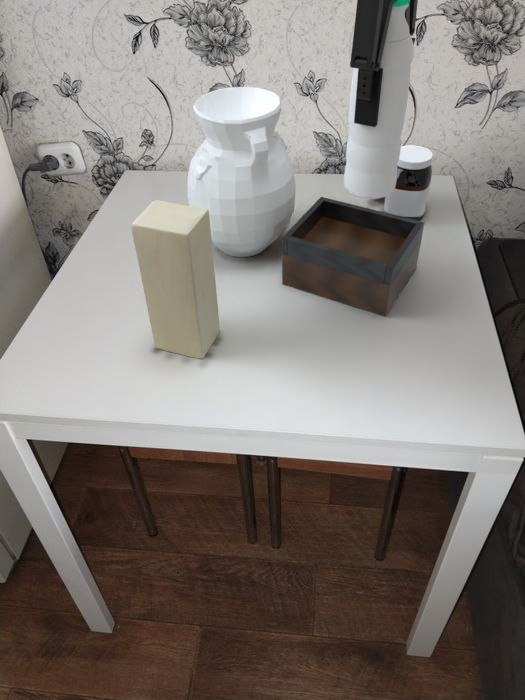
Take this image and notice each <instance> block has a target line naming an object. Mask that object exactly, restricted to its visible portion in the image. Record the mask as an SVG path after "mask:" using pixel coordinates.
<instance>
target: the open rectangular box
mask: <svg viewBox="0 0 525 700" xmlns="http://www.w3.org/2000/svg"><path fill="white" fill-rule="evenodd" d="M424 228H425V222H424V221H420V220H418V219H417V220H413V219H409V218H405V217H401V216H397V215H393V214H389V213H385V211H381V210H378V209H377V210H376V209H373V208H369V207H365V206H360V205H356V204H351V203H348V202H344V201H341V200H336V199H333V198H329V197H324V196H320V197H319V198H318V200H316V201H315V202H314V204H313V205H311V207H309V209H308V210H306V211H305V213H304V214H303V215H302V216H301V217H300V218H299V219H298V220H297V221H296V222H295V223H294V224H293V226H292V227H290V228H289V229H288V230H287V232H285V234H284V235H283V236H282V237H281V275H282V276H281V277H282V278H281V280H282V282H281V283H282V285H284V286H287V287H291V288H293V289H297V290H300V291H303V292H306V293H310V294H312V295H315V296H317V297H322V298H325V299H328V300H331V301H334V302H338V303H339V304H344V305H347V306H350V307H353V308H356V309H359V310H363V311H366V312H369V313H372V314H375V315H378V316H380V317H384V318H385V317H387V315H388V314H389V312H390V311H391V310H392V307H393V306H394V304H395V303H396V301H397V300H398V299H399V297H400V295H401V293H402V292H403V290H404V289H405V287H406V285H407V284H408V283H409V281H410V280H411V278H412V276H413V275H414V273H415V271H416V270H417V265H418V260H419V255H420V249H421V244H422V238H423V232H424Z"/></svg>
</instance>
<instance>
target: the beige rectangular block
mask: <svg viewBox="0 0 525 700" xmlns="http://www.w3.org/2000/svg"><path fill="white" fill-rule="evenodd" d="M130 228H131V234H132V239H133V244H134V249H135V254H136V259H137V263H138V268H139V273H140V274H139V275H140V278H141V284H142V289H143V294H144V298H145V305H146V308H147V313H148V318H149V324H150V328H151V329H150V330H151V334H152V338H153V343H154V344H153V345H154V347H155V348H156V349H159V350H161V351H166V352H169V353H174V354H178V355H182V356H186V357H191V358H194V359H199V360H203V359H204V358H205V357H206V355H207V354H208V352H209V350H210V349H211V347H212V345H214V342H215V341H216V339H217V337H218V335H219V334H220V332H221V329H220V315H219V303H218V295H217V285H216V274H215V273H216V272H215V264H214V252H213V244H212V239H211V229H210V218H209V211H208V209H205V208H200V207H194V206H189V204H188V205H187V204H183V203H177V202H170V201H165V200H159V199H154V200H152V202H151V203H150V204H149V205H148V206H147V207H146V208H145V209H144V210H143V211H142V212H141V213H140V214H139V215H138V216H137V217H136V218H135V219H134V221H133V222H132V223H131V225H130Z"/></svg>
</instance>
